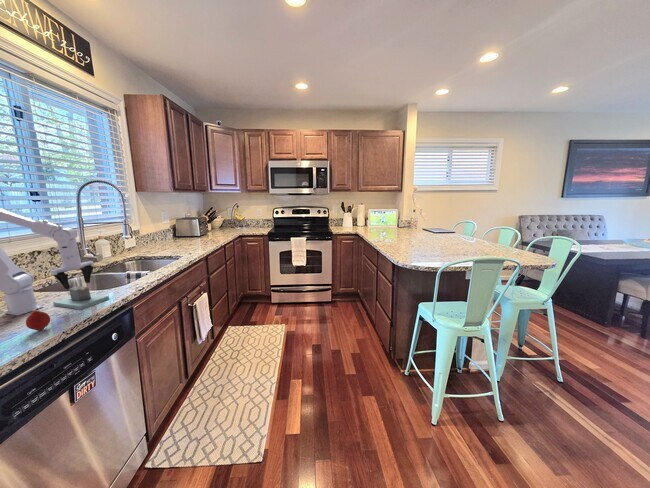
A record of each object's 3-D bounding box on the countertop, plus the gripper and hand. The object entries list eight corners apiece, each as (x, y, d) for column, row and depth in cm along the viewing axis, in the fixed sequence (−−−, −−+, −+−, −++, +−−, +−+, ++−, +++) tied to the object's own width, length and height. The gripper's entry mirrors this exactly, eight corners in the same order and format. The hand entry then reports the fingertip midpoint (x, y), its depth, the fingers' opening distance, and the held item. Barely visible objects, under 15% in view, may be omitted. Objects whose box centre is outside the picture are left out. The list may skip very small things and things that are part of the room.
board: (53, 305, 115) (53, 302, 115) (83, 295, 125) (82, 292, 125) (81, 309, 109) (80, 306, 109) (109, 298, 120) (108, 295, 119)
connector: (66, 299, 117) (63, 289, 116) (76, 296, 121) (74, 285, 120) (82, 301, 114) (80, 290, 113) (93, 298, 117) (90, 287, 116)
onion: (51, 324, 97) (46, 304, 95) (53, 329, 93) (47, 308, 92) (28, 331, 93) (22, 310, 91) (29, 336, 89) (22, 315, 87)
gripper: (55, 260, 105) (63, 292, 108) (95, 252, 118) (102, 280, 121) (44, 259, 107) (52, 291, 110) (85, 251, 121) (91, 279, 123)
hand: (77, 285), depth 116 cm, fingers open, 7 cm apart
